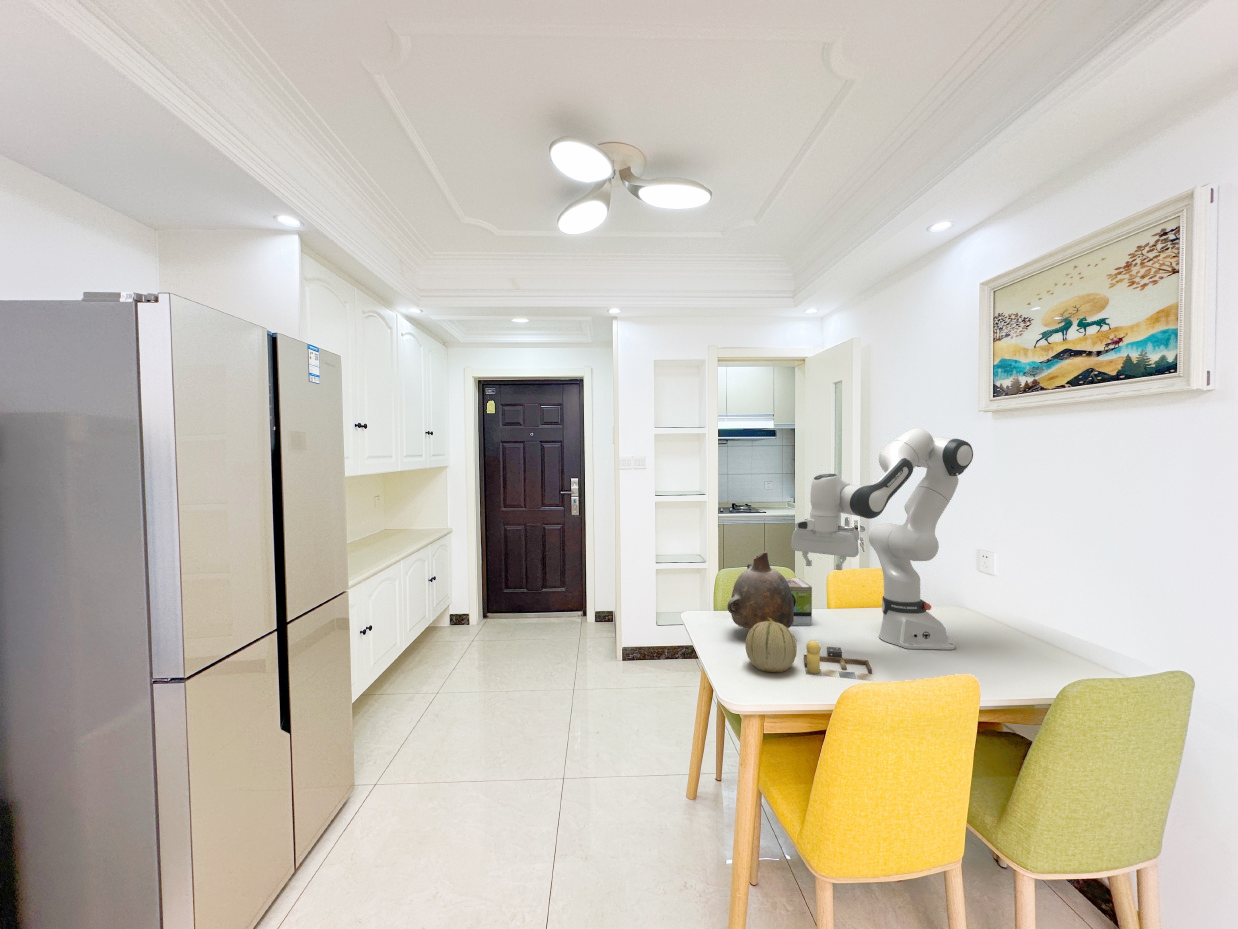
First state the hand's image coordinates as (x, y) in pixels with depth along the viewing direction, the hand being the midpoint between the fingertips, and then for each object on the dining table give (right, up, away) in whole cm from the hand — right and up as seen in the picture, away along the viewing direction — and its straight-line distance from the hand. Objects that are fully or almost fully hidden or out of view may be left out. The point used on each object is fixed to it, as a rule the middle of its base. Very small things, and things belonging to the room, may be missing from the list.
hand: (823, 567), depth 172 cm
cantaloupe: (-21, -28, -14) cm, 37 cm away
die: (+1, -28, -7) cm, 28 cm away
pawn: (-10, -26, -17) cm, 33 cm away
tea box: (+2, -27, +35) cm, 44 cm away
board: (-2, -28, -16) cm, 32 cm away
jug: (-15, -27, +17) cm, 36 cm away
